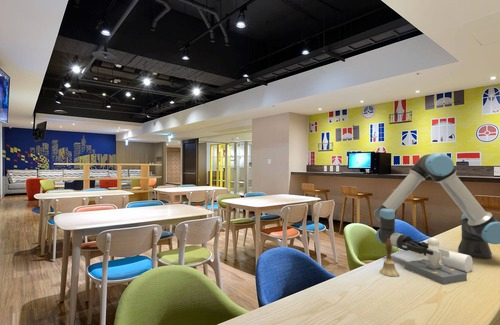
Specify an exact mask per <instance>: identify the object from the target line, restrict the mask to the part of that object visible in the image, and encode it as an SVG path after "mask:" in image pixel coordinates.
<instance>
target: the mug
mask: <svg viewBox="0 0 500 325" xmlns="http://www.w3.org/2000/svg"><path fill="white" fill-rule="evenodd" d="M446 250H447V249H446ZM447 251H449V257H445V256H442V255H441V262H442V265H444V266H446V267H449V268H452V269H455V270H458V271H461V272H464V273H470V272H471V271H472V269H473V265H474V263H473V257H471V256H470V255H466V254H461V253H458V251H452V250H449V249H448V250H447Z"/></svg>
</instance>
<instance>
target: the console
mask: <svg viewBox="0 0 500 325" xmlns="http://www.w3.org/2000/svg"><path fill="white" fill-rule="evenodd" d="M426 263H429V260H428V259H419V260H418V259H417V260H412V261H411V260H410V261H409V260H408V261H404V262H403V269H404V270H408V271H409V272H412V273H414V274H416V275H419V276H421V277H424V278H425V279H429V280H431V281H434V282H435V283H438V284H441V285H447V284H453V283H460V282H466V281H467V280H468V279H467V278H468V274H467V272H464V271H460V270H457V269H453V268H450V267H446V266H444V265H443V264H441V265H442V268H437V269H432V268H430V267H427V266H426Z"/></svg>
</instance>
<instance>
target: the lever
mask: <svg viewBox="0 0 500 325" xmlns="http://www.w3.org/2000/svg"><path fill="white" fill-rule="evenodd" d="M427 243H428V248H429V249H432V250H436V251H439V248H440V247H439V246H440V241H439V239H437V238H436V237H430V238H428V240H427ZM427 255H428V254H427ZM427 258H428V259H427V260H429V263H426V266H427V267H430V268H432V269H437V268H442V265H443V264H441V263H440V261H439V260H440V258H437V257H434V256H431V255H428V256H427Z"/></svg>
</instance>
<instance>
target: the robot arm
mask: <svg viewBox="0 0 500 325" xmlns="http://www.w3.org/2000/svg"><path fill="white" fill-rule="evenodd" d="M454 166H455V164H454V161H453V159H452V157H450V156H449V155H447V154H444V153H441V152H440V153H438V152H437V153H430V154H425V155H423V156H421V157H420V158H419V159H418V160H417V161H416V162H415V163H414V164H413V166H412V167H411V168H410V169H409V173H408V175H406V177H405V178H404V179H403V180H402V181H401V182H400V184H399V185H398V186H397V187H396V188H395V189H394V191H392V193H391V194H390V195H389V196H388V197H387V199H386V200H385V201H384V202H383V203H382V204H381V205H380V207H379V208H376V209H375V210H374V211H373V216H374V218H375V220H376V221H377V222H379V229H377V230H376V233H375V238H376V241H378V242H379V243H382V244H384V245H386V242H387V239H390V240H391V243H392V247H393V248H396V249H397V250H398V249H400V250H403V251H408V252H409V251H411V252H413V253H416V254H419V255H421V254H423V256H427V255H431V256H434V257H437V258H439V259H442V256H445V257H449V251H450V250H449V251H447V249H443V248H440V247H439V251H436V250H432V249H429V248H428V242H425V241H422V240H421V241H417V240H413V238H412V237H411V236H410V235H405V234H402V233H399V232H396V213H395V212H396V210H397V209H398V208H399V207H400V206H401V205H402V203H403V202H405V200H406V199H407V198H408V197H409V196H410V195H411V194H412V192H414V190H415V189H416V188H417V187H418V185H420V183H421V182H422V181H425V180H426V179H427V178H429V177H430V178H431V179H432V180H433V182H435V183H437V184H439V185H441V187H442V189H443V190H444V191H445V192H446V193H447V194H448V196H449V197H450V198H451V199H452V200H453V202H454V203H455V205H457V207H458V208H459V210H461V212H462V214H461V219H460V222H461V223H460V226H461V228H460V229H461V240H460V243H459V244H458V247H457V253H461V254H466V255H470V256H471V257H472V258H476V259H488V260H489V259H492V258H493V252H492V250H491V248H490V244H491V245H500V221H498V219H496V217H495V216H494V214H492V212H490V211H488V212H487V211H486V210H485V209H484V207H482V205H481V204H480V203H479V201H478V200H477V199H476V198H475V196H474V195H473V194H472V193H471V192H470V190H469V189H468V188H467V187H466V185H465V184H464V183H463V182H462V180H461V179H460V177H458V175H457V171H458V170H457V169H456V168H455V167H454Z"/></svg>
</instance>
